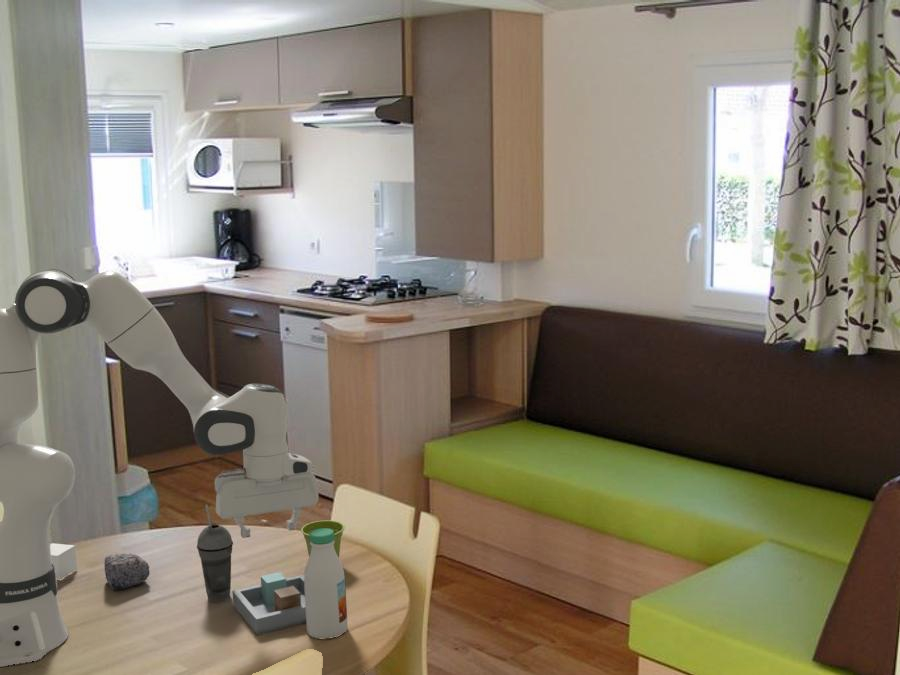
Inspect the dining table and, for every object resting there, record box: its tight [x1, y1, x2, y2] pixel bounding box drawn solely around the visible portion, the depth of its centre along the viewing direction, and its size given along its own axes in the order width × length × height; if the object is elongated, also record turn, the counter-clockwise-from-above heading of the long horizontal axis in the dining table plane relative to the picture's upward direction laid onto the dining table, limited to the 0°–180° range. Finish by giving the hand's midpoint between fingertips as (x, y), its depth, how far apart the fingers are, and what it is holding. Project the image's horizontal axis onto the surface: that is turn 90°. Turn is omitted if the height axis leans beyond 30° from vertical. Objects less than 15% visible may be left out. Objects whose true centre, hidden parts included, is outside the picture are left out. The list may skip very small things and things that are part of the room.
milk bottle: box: [303, 528, 348, 639], centre depth 205 cm, size 8×8×20 cm
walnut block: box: [274, 586, 301, 612], centre depth 213 cm, size 4×4×5 cm
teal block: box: [260, 571, 287, 606], centre depth 220 cm, size 4×4×5 cm
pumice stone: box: [104, 553, 150, 591], centre depth 231 cm, size 10×8×10 cm
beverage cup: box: [196, 504, 234, 603], centre depth 222 cm, size 7×7×20 cm
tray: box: [231, 574, 307, 636], centre depth 216 cm, size 15×15×3 cm
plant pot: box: [300, 519, 346, 559], centre depth 238 cm, size 9×9×9 cm
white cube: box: [50, 542, 78, 579], centre depth 238 cm, size 6×6×6 cm
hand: (268, 533), depth 216 cm, fingers open, 8 cm apart
